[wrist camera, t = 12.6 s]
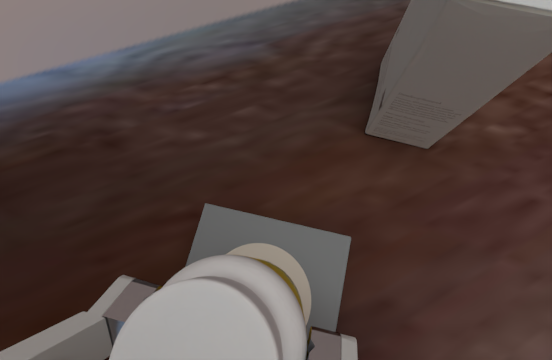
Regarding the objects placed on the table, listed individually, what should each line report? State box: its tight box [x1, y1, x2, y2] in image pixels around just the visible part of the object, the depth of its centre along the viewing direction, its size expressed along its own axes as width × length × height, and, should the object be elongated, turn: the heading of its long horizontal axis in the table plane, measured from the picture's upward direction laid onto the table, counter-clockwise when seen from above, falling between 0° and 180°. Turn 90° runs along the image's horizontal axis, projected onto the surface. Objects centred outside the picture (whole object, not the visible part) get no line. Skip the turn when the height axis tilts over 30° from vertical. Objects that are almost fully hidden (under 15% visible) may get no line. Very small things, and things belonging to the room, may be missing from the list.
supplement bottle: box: [109, 255, 307, 360], centre depth 11 cm, size 5×5×10 cm
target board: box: [186, 203, 351, 340], centre depth 22 cm, size 12×12×1 cm
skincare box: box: [365, 0, 552, 149], centre depth 20 cm, size 8×6×15 cm
